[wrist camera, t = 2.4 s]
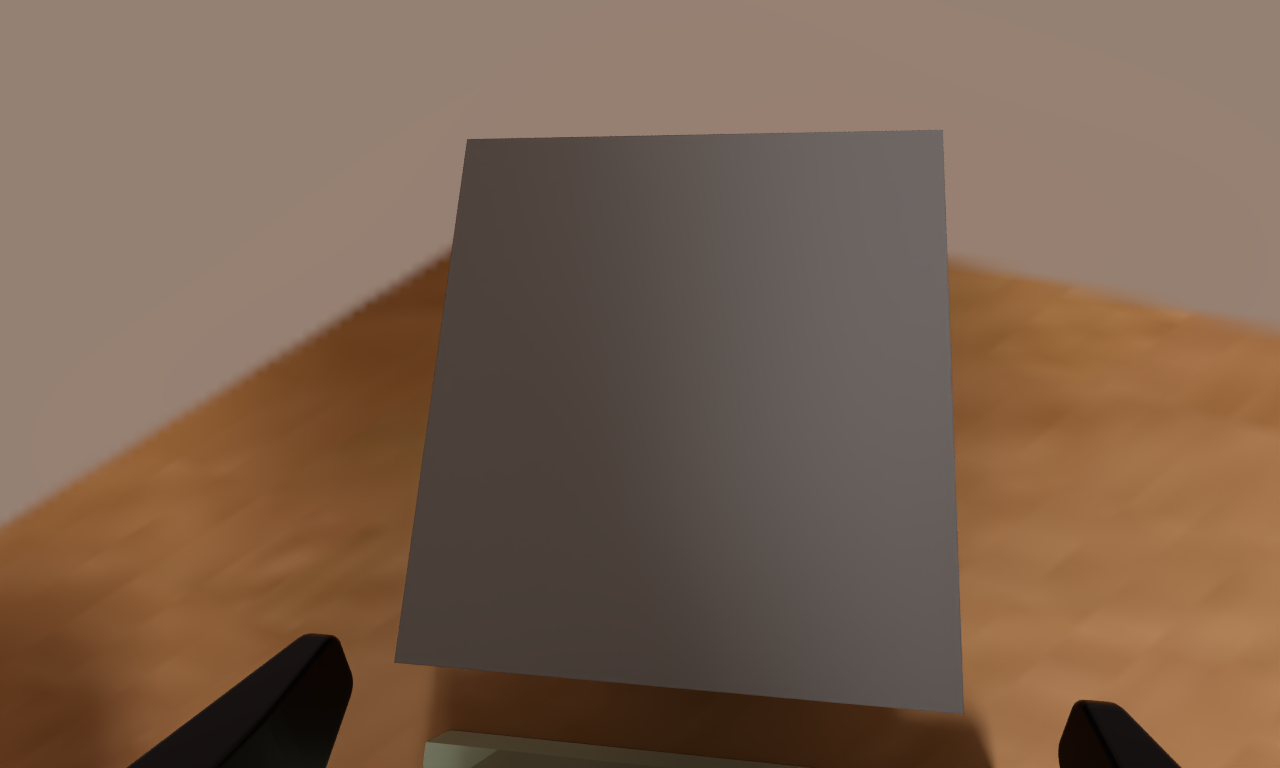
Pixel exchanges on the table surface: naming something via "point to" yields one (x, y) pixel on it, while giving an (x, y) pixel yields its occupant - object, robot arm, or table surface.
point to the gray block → (696, 420)
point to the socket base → (557, 755)
